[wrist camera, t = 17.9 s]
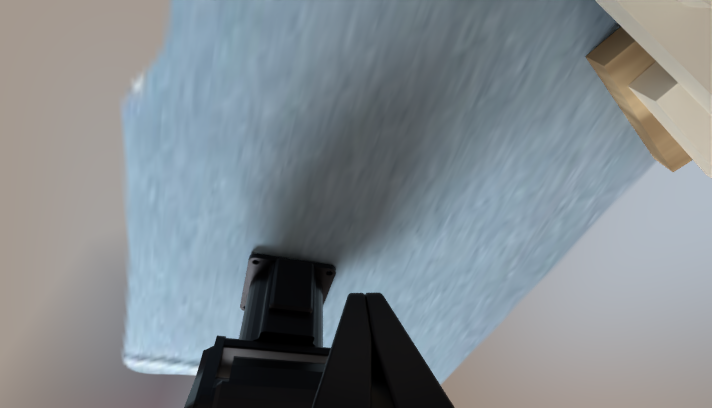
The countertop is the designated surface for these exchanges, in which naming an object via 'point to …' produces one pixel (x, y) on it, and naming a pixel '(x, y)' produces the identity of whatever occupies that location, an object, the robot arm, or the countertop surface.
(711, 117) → the domino
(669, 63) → the domino
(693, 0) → the domino
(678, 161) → the domino
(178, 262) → the countertop surface
